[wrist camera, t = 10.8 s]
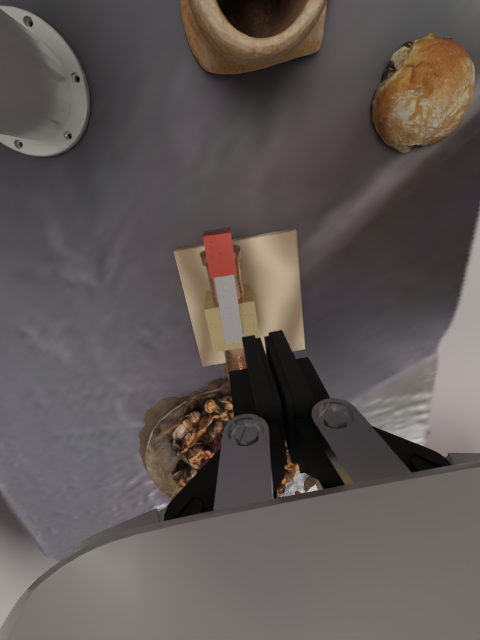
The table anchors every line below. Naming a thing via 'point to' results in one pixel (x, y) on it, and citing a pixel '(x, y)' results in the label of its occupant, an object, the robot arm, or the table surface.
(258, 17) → the stone cup
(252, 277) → the beige board
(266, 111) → the table surface
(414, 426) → the table surface
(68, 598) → the robot arm
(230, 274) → the valve lever
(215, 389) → the food dish
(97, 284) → the table surface
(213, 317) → the valve pipe
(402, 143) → the bread roll
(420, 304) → the table surface
